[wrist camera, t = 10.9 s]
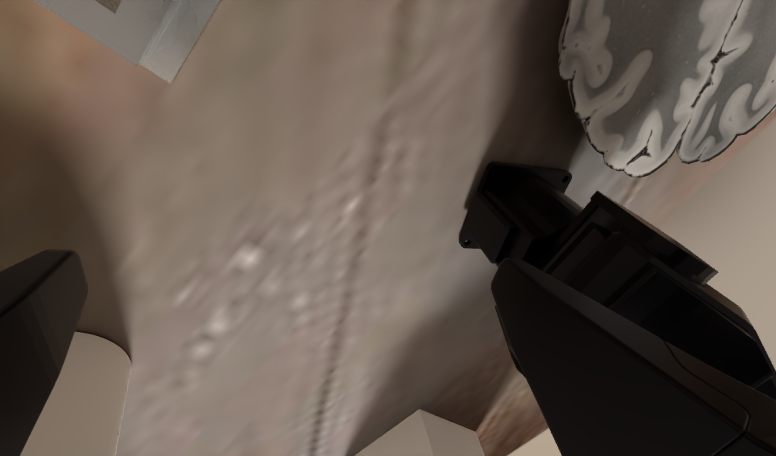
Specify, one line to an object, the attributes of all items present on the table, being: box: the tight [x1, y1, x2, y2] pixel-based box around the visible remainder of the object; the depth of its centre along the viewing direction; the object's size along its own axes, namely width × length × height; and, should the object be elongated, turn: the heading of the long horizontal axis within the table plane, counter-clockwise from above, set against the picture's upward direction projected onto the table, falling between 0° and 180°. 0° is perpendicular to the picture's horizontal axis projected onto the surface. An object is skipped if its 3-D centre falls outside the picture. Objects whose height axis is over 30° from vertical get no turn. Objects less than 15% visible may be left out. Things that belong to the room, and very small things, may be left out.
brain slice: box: [558, 0, 776, 178], centre depth 20 cm, size 20×17×3 cm
